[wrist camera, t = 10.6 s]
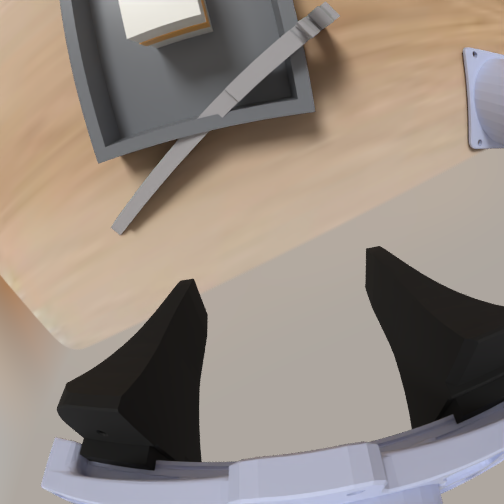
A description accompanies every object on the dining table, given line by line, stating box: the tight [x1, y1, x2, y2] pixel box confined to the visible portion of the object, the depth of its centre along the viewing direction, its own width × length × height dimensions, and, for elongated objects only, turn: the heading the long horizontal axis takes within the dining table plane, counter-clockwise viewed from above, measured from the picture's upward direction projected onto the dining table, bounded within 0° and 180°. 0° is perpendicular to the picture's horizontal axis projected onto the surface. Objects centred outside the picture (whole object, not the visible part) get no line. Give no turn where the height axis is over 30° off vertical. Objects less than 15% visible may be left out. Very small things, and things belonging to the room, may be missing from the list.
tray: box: [60, 0, 315, 164], centre depth 12 cm, size 13×17×3 cm
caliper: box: [111, 2, 340, 235], centre depth 15 cm, size 20×1×6 cm, turn 135°
